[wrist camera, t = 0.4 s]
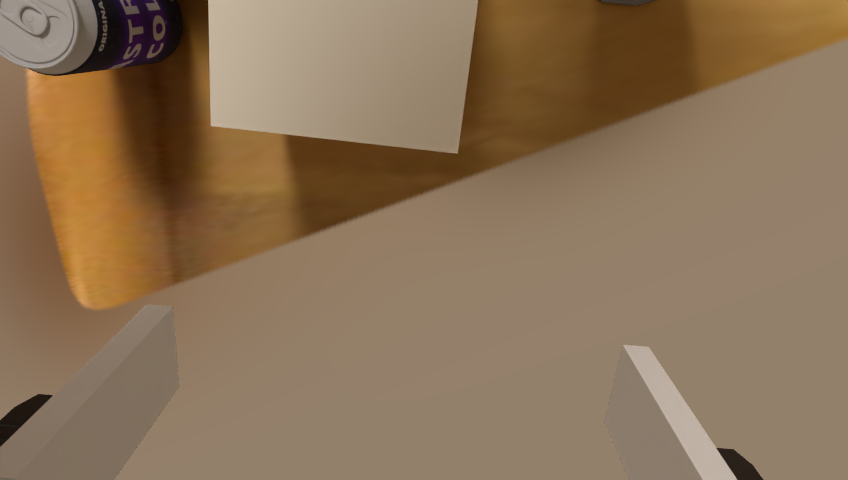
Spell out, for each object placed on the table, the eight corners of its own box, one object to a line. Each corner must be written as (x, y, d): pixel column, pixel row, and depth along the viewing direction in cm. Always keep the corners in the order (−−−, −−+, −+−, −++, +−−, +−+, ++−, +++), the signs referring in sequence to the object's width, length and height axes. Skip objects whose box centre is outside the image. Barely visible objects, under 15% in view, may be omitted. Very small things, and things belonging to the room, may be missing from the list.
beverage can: (163, 80, 39) (56, 101, 28) (88, 27, 38) (-55, 28, 27) (203, 9, 38) (106, 2, 26) (126, -48, 37) (-10, -81, 25)
